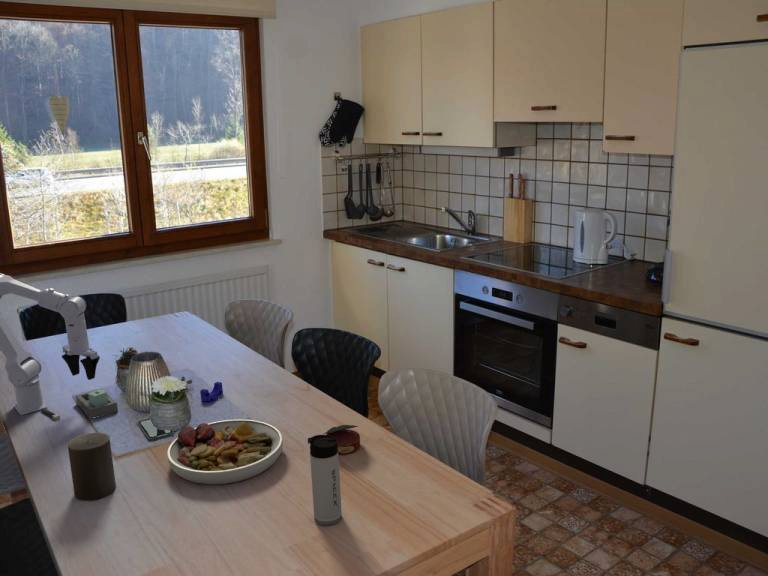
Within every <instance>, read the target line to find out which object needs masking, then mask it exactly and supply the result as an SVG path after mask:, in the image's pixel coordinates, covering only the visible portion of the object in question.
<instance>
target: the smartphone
mask: <svg viewBox="0 0 768 576" xmlns="http://www.w3.org/2000/svg"><path fill="white" fill-rule="evenodd" d="M150 418H151V417H150ZM150 418H146V419H142V420H138V421H137V425H138V427H139V428H140V430H141V431H142V433H143V434H144V436H145V437H146V438H147V440H148V441H149V442H150V441H157V440H160V439H164V438H168V437H171V436H174V434H175V432H174V430H173V429H172V430H159V429H157V428H156V427H154V426H153V424H152V422H151V419H150Z"/></svg>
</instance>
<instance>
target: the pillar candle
mask: <svg viewBox="0 0 768 576" xmlns="http://www.w3.org/2000/svg"><path fill="white" fill-rule="evenodd" d="M67 449H68V457H69V458H68V459H69V466H70V472H71V473H70V474H71V478H72V479H71V480H72V487H73V495H74V497H75V498H76V499H77V500H79V501H84V502H86V501H89V502H92V501H98V500H101V499H103V498H106V497H108V496H110V495H112V494H113V493H114V492H115V491H116V488H117V482H116V477H115V467H114V461H113V454H112V444H111V438H110V436H109V434H108V433H105V432H104V433H103V432H89V433H84V434H80V435H77V436H76V437H75V436H74V437H73V438H72V439H70V440H69V442H67Z"/></svg>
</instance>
